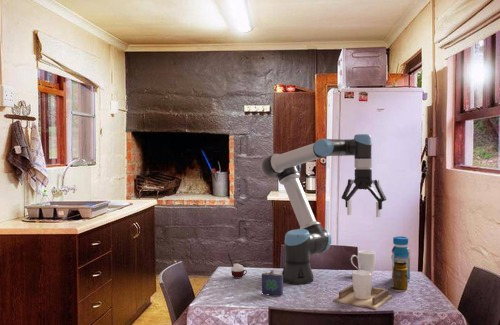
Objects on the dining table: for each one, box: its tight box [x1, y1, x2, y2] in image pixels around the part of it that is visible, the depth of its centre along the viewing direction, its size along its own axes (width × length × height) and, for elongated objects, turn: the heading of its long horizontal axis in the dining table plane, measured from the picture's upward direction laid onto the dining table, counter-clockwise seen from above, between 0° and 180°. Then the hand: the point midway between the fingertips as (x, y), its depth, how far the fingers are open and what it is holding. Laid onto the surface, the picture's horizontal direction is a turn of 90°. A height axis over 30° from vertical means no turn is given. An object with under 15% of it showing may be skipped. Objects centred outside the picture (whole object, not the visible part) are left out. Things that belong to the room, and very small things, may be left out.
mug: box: [350, 249, 376, 273], centre depth 224 cm, size 12×8×11 cm
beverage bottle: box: [390, 235, 411, 282], centre depth 215 cm, size 8×8×20 cm
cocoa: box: [226, 252, 248, 278], centre depth 223 cm, size 10×6×12 cm, turn 82°
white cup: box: [351, 269, 373, 299], centre depth 187 cm, size 8×8×10 cm
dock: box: [332, 283, 393, 310], centre depth 186 cm, size 18×18×3 cm
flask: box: [261, 269, 284, 295], centre depth 194 cm, size 9×3×11 cm, turn 74°
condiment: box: [386, 260, 412, 293], centre depth 201 cm, size 7×8×12 cm
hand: (363, 215), depth 205 cm, fingers open, 13 cm apart
